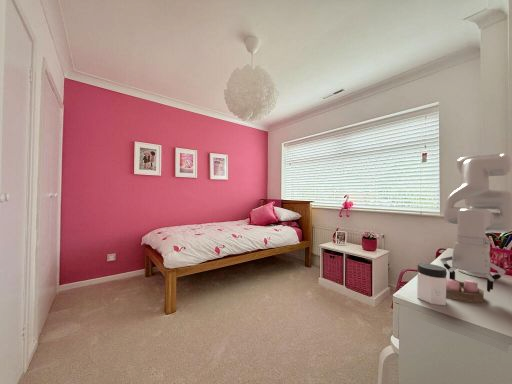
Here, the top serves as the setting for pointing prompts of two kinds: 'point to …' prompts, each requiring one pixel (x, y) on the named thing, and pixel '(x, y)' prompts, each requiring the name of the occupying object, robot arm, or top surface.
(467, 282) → the bead
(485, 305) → the top surface
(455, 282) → the bead
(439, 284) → the jar
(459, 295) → the tray
